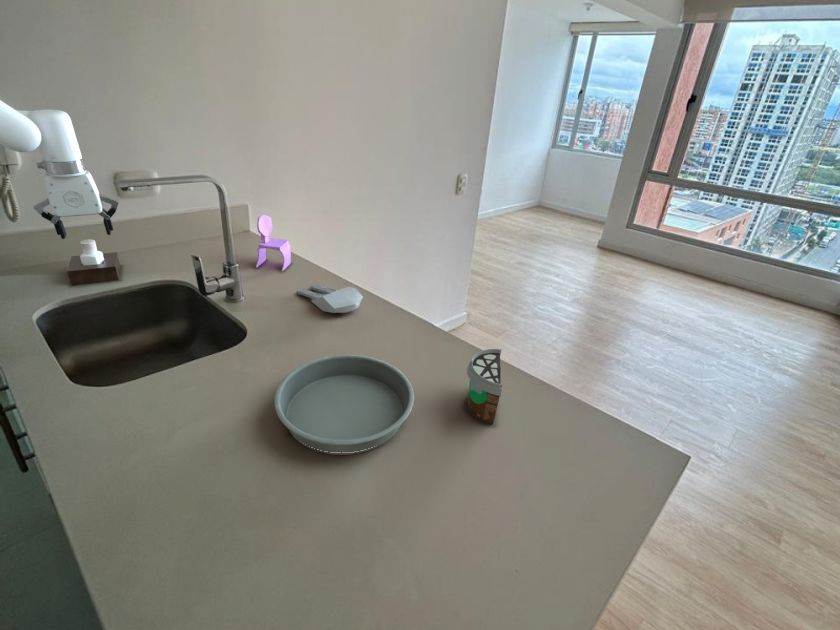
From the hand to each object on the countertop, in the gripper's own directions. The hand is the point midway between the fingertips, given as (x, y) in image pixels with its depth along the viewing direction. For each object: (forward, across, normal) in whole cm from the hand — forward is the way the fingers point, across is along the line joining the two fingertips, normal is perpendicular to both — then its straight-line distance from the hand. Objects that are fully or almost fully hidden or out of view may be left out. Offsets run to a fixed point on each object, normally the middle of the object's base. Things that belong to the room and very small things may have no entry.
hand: (87, 235), depth 115 cm
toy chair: (+12, +44, -7) cm, 47 cm away
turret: (+12, +52, -35) cm, 64 cm away
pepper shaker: (+11, -1, 0) cm, 11 cm away
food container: (+12, +66, -84) cm, 108 cm away
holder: (+11, -1, 0) cm, 11 cm away
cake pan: (+12, +42, -76) cm, 88 cm away
